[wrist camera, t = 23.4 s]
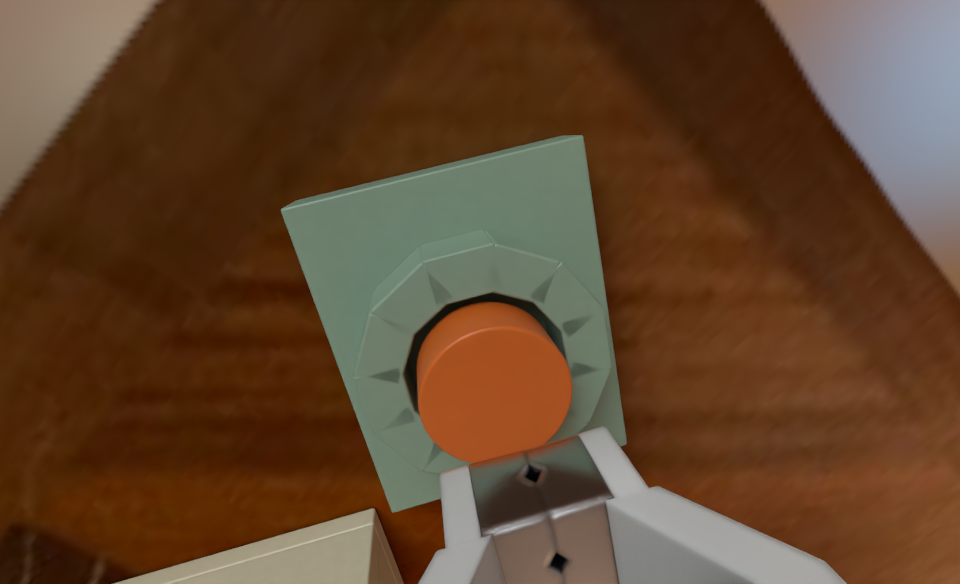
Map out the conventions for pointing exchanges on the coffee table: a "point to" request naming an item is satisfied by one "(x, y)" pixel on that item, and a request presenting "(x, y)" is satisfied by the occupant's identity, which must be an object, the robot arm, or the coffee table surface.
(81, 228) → the coffee table surface
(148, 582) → the cream square open box
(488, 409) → the button
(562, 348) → the panel
